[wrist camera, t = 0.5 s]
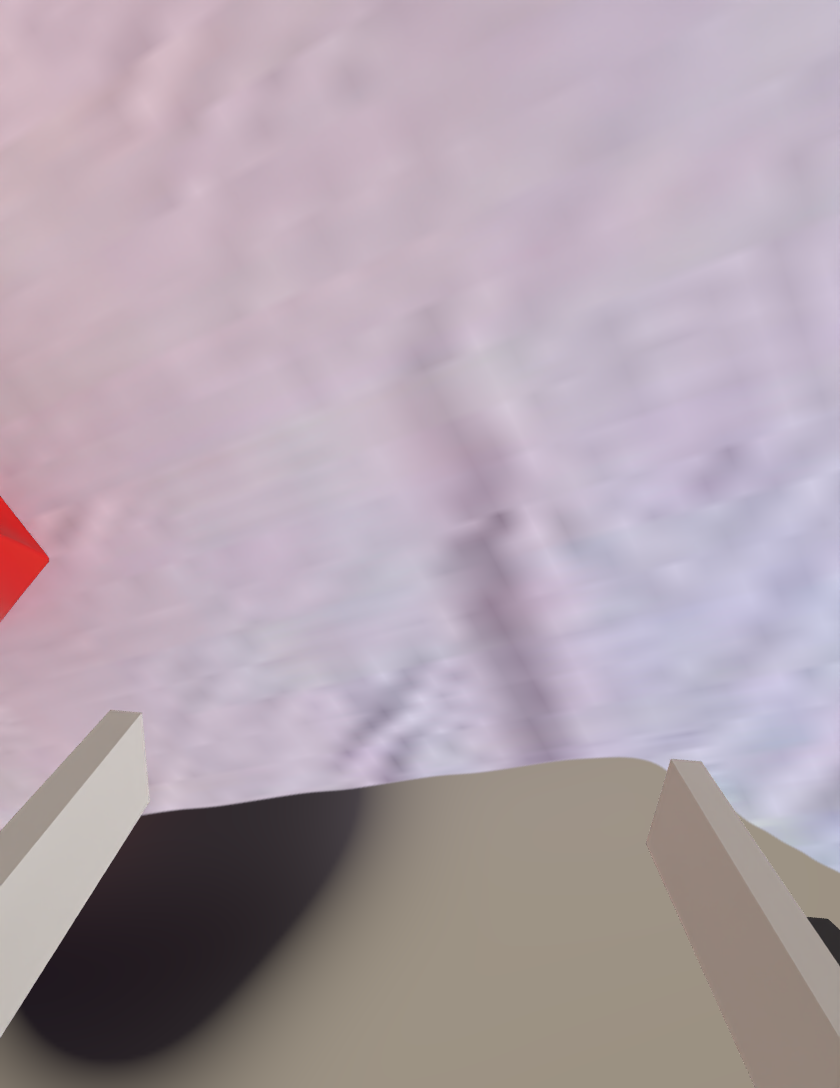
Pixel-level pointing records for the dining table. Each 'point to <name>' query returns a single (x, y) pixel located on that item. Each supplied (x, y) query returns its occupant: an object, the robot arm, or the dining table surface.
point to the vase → (16, 559)
